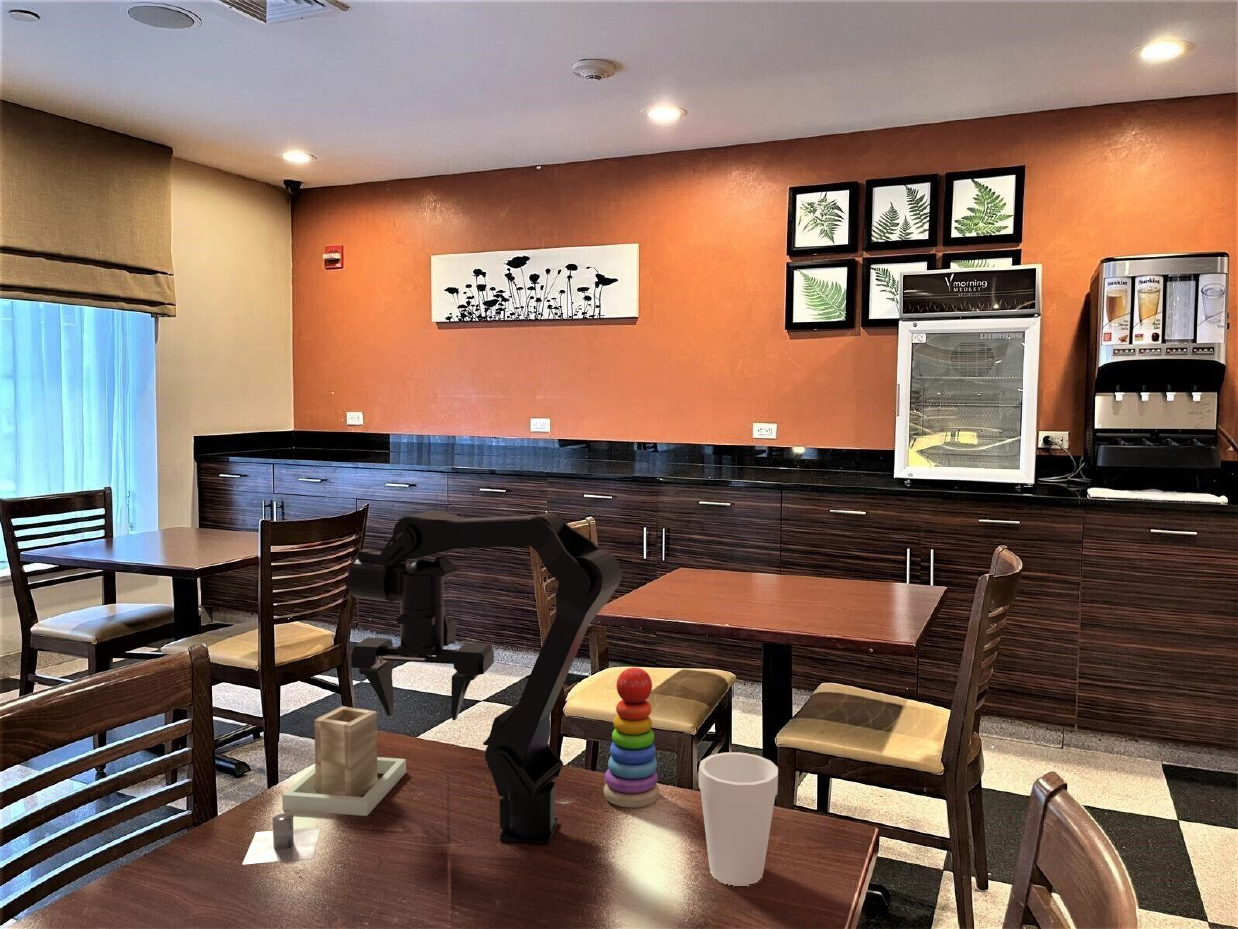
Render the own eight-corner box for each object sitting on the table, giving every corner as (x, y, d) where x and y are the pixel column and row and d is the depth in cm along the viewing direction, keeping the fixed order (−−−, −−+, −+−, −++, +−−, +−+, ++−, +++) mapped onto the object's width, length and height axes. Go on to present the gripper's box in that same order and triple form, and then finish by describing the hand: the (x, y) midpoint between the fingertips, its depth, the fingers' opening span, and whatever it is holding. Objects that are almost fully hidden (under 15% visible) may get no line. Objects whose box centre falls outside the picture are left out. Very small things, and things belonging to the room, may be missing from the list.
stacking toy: (660, 811, 124) (661, 678, 122) (602, 810, 124) (603, 677, 122) (658, 786, 131) (660, 661, 130) (604, 785, 132) (605, 660, 130)
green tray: (406, 778, 133) (405, 759, 133) (366, 823, 119) (366, 801, 119) (329, 773, 135) (329, 754, 135) (282, 816, 121) (282, 794, 121)
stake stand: (321, 834, 116) (320, 801, 116) (312, 866, 108) (311, 830, 108) (256, 840, 115) (255, 806, 114) (242, 872, 107) (241, 836, 106)
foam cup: (725, 902, 102) (727, 791, 101) (682, 864, 110) (684, 761, 109) (792, 881, 106) (794, 775, 105) (746, 846, 114) (748, 747, 113)
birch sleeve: (377, 786, 129) (376, 711, 128) (351, 803, 123) (350, 725, 122) (333, 777, 131) (332, 704, 131) (306, 794, 126) (305, 718, 125)
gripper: (504, 595, 128) (504, 701, 129) (380, 589, 130) (380, 693, 132) (482, 613, 117) (482, 729, 118) (346, 607, 119) (347, 721, 121)
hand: (422, 717), depth 123 cm, fingers open, 9 cm apart
